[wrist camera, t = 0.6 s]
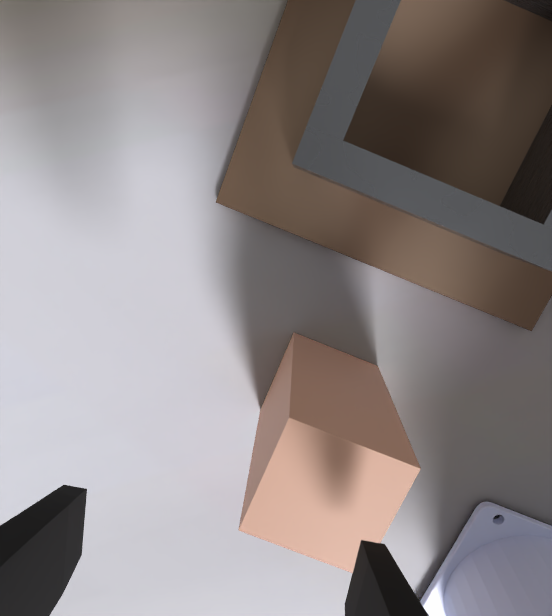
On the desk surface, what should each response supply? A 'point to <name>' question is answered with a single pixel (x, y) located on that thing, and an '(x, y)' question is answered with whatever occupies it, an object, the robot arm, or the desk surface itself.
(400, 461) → the peg
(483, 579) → the robot arm
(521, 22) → the socket board
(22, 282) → the desk surface
